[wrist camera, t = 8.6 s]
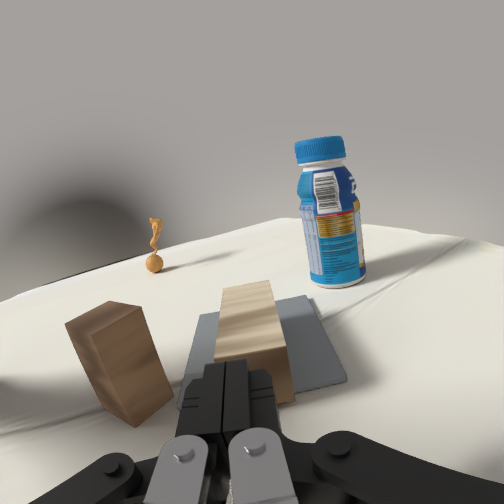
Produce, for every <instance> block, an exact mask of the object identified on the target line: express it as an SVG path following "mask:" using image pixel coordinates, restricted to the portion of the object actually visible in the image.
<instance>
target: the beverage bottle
mask: <svg viewBox="0 0 504 504" xmlns="http://www.w3.org/2000/svg"><path fill="white" fill-rule="evenodd" d="M295 153H296V158H297V163H298V164H299V166H304V169H303V172H302V174H301V177H300V179H299V183H298V188H297V193H298V195H299V197H300V198H301V205H300V209H299V210H300V216H301V218H302V222H303V228H304V234H305V240H306V246H307V252H308V259H309V265H310V275H311V280H312V282H313V283H314V284H315V285H317V286H319V287H323V288H342V287H347V286H351V285H354V284H356V283H358V282H360V281H361V280H362V279H363V278H364V277H365V274H366V268H365V260H364V249H363V239H362V229H361V221H360V212H359V211H360V203H359V200H358V198H357V197H356V195H355V189H356V183H355V181H354V178H353V176H352V175H351V173H350V172H349V171H348V169H347V168H346V167H345V166H344V165H343V164H342V161H341V160H345V159H346V158H345V157H346V153H345V147H344V142H343V139H342V137H341V136H330V137H321V138H314V139H309V140H304V141H300V142H297V143H295ZM342 157H343V158H342ZM335 158H336V159H335ZM327 159H328V160H327ZM314 161H315V162H314ZM307 162H308V163H307ZM301 163H302V164H301Z"/></svg>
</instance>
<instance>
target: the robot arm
mask: <svg viewBox="0 0 504 504" xmlns="http://www.w3.org/2000/svg"><path fill="white" fill-rule="evenodd" d="M181 407H182V409H181V411H180V416H179V420H178V425H177V430H176V435H175V438H173V439H171V440H170V441H168V442H167V443H166V444H165V445H164V446H163V447H162V449H161V451H160V454H159V456H157V457H155V458H151V459H148V460H144V461H139V462H135V463H134V462H133V460H132V459H131V458H130V457H129V456H128V455H126V454H123V453H110V454H107V455H105V456H103V457H101V458H99V459H98V460H96V461H95V462H93V463H92V464H91V465H89V466H88V467H86V468H85V469H83V470H82V471H80V472H78V473H77V474H75V475H74V476H72V477H71V478H69V479H68V480H66V481H65V482H63V483H61V484H60V485H58V486H57V487H55V488H53V489H52V490H50V491H49V492H47V493H45V494H44V495H42V496H40V497H39V498H37V499H35V500H34V501H32V502H30V503H29V504H231V494H230V492H229V482H230V479H231V484H232V494H233V504H504V484H501V483H497V482H493V481H489V480H485V479H482V478H478V477H474V476H471V475H467V474H464V473H461V472H457V471H454V470H451V469H448V468H445V467H442V466H439V465H436V464H433V463H430V462H427V461H424V460H421V459H419V458H416V457H413V456H410V455H408V454H405V453H402V452H400V451H397V450H395V449H392V448H390V447H387V446H385V445H382V444H380V443H377V442H375V441H372V440H370V439H368V438H365V437H363V436H361V435H358V434H356V433H353V432H350V431H335V432H331V433H328V434H326V435H324V436H322V437H321V438H319V439H318V440H317V441H316V442H315V443H300V442H295V441H292V440H290V439H288V438H287V437H285V436H284V435H283V434H282V431H281V424H280V418H279V412H278V406H277V401H276V396H275V391H274V386H273V381H272V376H271V375H270V374H269V373H268V372H267V371H266V370H265V369H259V370H253V371H251V369H250V365H249V361H248V358H241V359H235V360H228V361H227V362H226V361H222V362H216V363H208V364H205V366H204V373H203V378H199V379H193V380H192V381H191V382H190V384H189V385H188V386H187V387H186V389H185V393H184V397H183V402H182V406H181Z"/></svg>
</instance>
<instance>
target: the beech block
mask: <svg viewBox="0 0 504 504" xmlns="http://www.w3.org/2000/svg"><path fill="white" fill-rule="evenodd" d="M241 358H248V361H249V365H250V369H251V371H253V370H259V369H265V370H266V371H267V372H268V373H269V374H270V375H271V376H272V381H273V386H274V391H275V396H276V401H277V404H280V403H285V402H290V401H295V395H294V389H293V383H292V377H291V371H290V365H289V359H288V353H287V347H286V343H285V339H284V335H283V332H282V328H281V324H280V320H279V316H278V312H277V308H276V305H275V301H274V297H273V293H272V289H271V285H270V282H269V280H266V281H260V282H255V283H250V284H245V285H239V286H234V287H229V288H223V294H222V301H221V308H220V316H219V323H218V330H217V338H216V345H215V353H214V362H215V363H216V362H222V361H226V362H227V361H228V360H235V359H241Z"/></svg>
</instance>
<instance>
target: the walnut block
mask: <svg viewBox="0 0 504 504" xmlns="http://www.w3.org/2000/svg"><path fill="white" fill-rule="evenodd" d="M65 327H66V329H67V332H68V334H69V336H70V339H71V341H72V344H73V346H74V348H75V350H76V353H77V355H78V357H79V359H80V362H81V364H82V366H83V368H84V370H85V372H86V374H87V376H88V378H89V380H90V382H91V384H92V386H93V388H94V390H95V392H96V394H97V396H98V398H99V400H100V402H101V404H102V405H103V407H104V409H106V410H107V411H109V412H110V413H112V414H113V415H115V416H117V417H118V418H120V419H121V420H123V421H125V422H126V423H128V424H129V425H131V426H133V427H134V428H136V427H137V426H138V425H140V424H141V423H142V422H143V421H144V420H146V419H147V418H148V417H149V416H151V415H152V414H153V413H154V412H156V411H157V410H158V409H159V408H160V407H162V406H163V405H164V404H165V403H166V402H168V401H169V400H170V399H171V398H172V397H174V394H173V392H172V390H171V387H170V385H169V382H168V380H167V377H166V375H165V372H164V369H163V367H162V364H161V362H160V359H159V356H158V354H157V351H156V348H155V345H154V343H153V340H152V337H151V334H150V331H149V329H148V326H147V323H146V320H145V317H144V314H143V311H142V308H141V307H140V306H135V305H129V304H124V303H118V302H113V301H108V302H106V303H104V304H102V305H100V306H98V307H96V308H94V309H92V310H90V311H88V312H86V313H84V314H82V315H81V316H79V317H77V318H75V319H73V320H71V321H69V322H67V323H65Z"/></svg>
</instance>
